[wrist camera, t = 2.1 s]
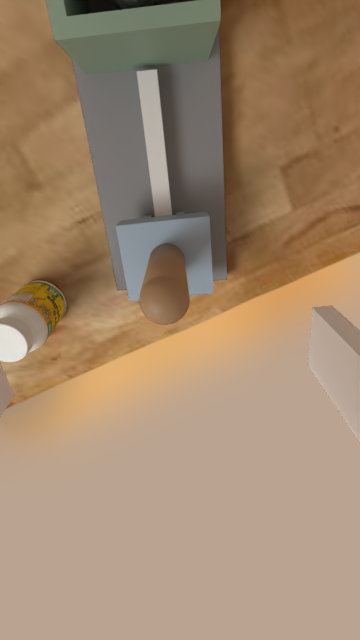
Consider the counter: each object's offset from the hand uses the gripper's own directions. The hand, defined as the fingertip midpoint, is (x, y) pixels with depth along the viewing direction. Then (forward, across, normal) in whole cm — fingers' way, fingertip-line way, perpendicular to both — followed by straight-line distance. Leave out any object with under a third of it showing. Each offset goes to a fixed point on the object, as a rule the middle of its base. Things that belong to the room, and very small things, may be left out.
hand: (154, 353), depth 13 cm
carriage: (+21, 0, -1) cm, 21 cm away
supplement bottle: (+23, -15, -5) cm, 28 cm away
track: (+23, 0, +8) cm, 24 cm away
